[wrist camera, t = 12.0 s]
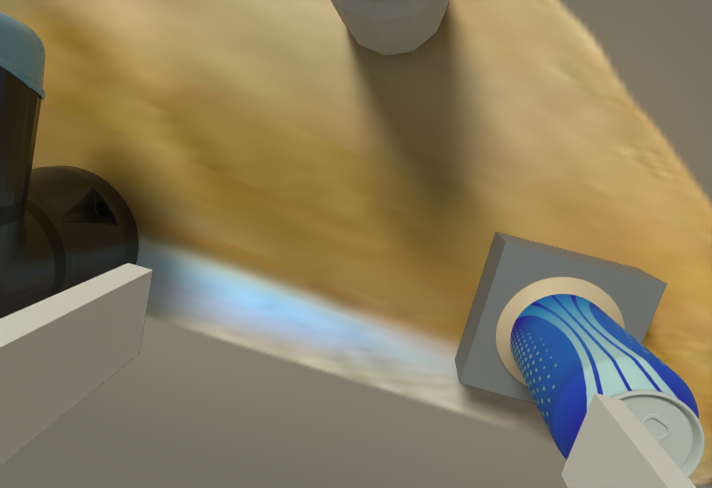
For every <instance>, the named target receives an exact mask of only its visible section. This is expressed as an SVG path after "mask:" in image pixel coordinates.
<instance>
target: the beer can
mask: <svg viewBox="0 0 712 488" xmlns="http://www.w3.org/2000/svg"><path fill="white" fill-rule="evenodd" d="M510 346H511V352H512V355H513V357H514V360H515V362H516V364H517V366H518V368H519V370H520V372H521V374H522V376H523V378H524V380H525V382H526V384H527V386H528V388H529V390H530V392H531V394H532V396H533V398H534V400H535V402H536V404H537V406H538V408H539V411H540V413H541V415H542V417H543V419H544V421H545V423H546V425H547V427H548V429H549V431H550V433H551V435H552V437H553V439H554V441H555V443H556V445H557V447H558V449H559V450H560V452H561V453H562V454H563V456H564V457H565V458H566V459H568V456H569V454H570V452H571V449H572V447H573V444H574V442H575V440H576V437H577V435H578V432H579V430H580V428H581V425H582V423H583V420H584V418H585V416H586V413H587V411H588V408H589V406H590V403H591V401H592V399H593V396H594V394H595V393H597V394H601V395H604V396H608V397H612V398H615V399H619V400H622V401H623V402H624V404H625V405H626V406H627V407H628V408H629V409H630V411H631V412H632V413H633V414H634V415H635V416H636V418H637V419H638V420H639V421H640V422H641V423H642V425H643V426H644V427H645V428H646V429H647V430H648V432H649V433H650V434H651V435H652V436H653V438H654V439H655V440H656V441H657V442H658V443H659V445H660V446H661V447H662V448H663V449H664V450H665V452H666V453H667V454H668V455H669V456H670V457H671V459H672V460H673V461H674V462H675V463H676V464H677V466H678V467H679V468H680V469H681V470H682V472H683V473H684V474H685V475H686V476H687V477H688V478H689V477H690V476H691V475H692V473H693V472H694V471H695V470H696V468H697V467H698V465H699V463H700V461H701V459H702V456H703V452H704V446H705V438H704V432H703V428H702V425H701V423H700V421H699V414H698V408H697V404H696V401H695V399H694V396H693V394H692V392H691V391H690V389H689V387H688V386H687V385H686V383H685V382H684V381H683V380H682V379H681V378H680V377H679V376H678V375H677V374H676V373H675V372H674V371H673V370H671V369H670V368H669V367H668V366H667V365H665V364H664V363H663V362H662V361H661V360H660V359H658V358H657V357H656V356H655V355H654V354H653V353H651V352H650V351H649V350H648V349H647V348H646V347H644V346H643V345H642V344H641V343H640V342H639V341H637V340H636V339H635V338H634V337H633V336H632V335H630V334H629V333H628V332H627V331H626V330H625V329H623V328H622V327H621V326H620V325H619V324H618V323H616V322H615V321H614V320H613V319H612V318H611V317H609V316H608V315H607V314H606V313H605V312H604V311H602V310H601V309H600V308H599V307H598V306H596V305H595V304H594V303H592V302H591V301H589V300H587V299H585V298H583V297H580V296H576V295H572V294H554V295H549V296H545V297H542V298H540V299H538V300H536V301H534V302H532V303H531V304H530V305H528V306H527V307H526V308H525V309H524V310H523V311H522V312H521V313H520V314H519V316H518V317H517V319H516V320H515V322H514V325H513V327H512V331H511V336H510Z"/></svg>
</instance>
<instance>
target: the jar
mask: <svg viewBox="0 0 712 488" xmlns="http://www.w3.org/2000/svg"><path fill="white" fill-rule="evenodd" d="M331 1H332V3H333V5H334V6H335V8H336V10H337V12H338V14H339V16H340V18H341V19H342V21H343V23H344V24H345V25H346V27H347V28H348V30H349V31H350V32H351V34H352V35H353V36H354V38H355V39H356V41H357V42H358V43H359V45H361V46H363V47H366V48H368V49H370V50H373V51H375V52H377V53H380V54H382V55H385V56H387V55H394V54H400V53H406V52H412V51H414V50H416V49H417V48H418V47H419V46H420V45H422V44H423V43H424V42H425V41H427V40H428V39H429V38H430V37H431V36H433V35H434V34H435V33H436V32H437V30H438V27H439V25H440V23H441V20H442V18H443V16H444V13H445V11H446V8H447V6H448V4H449V0H331Z"/></svg>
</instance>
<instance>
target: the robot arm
mask: <svg viewBox="0 0 712 488" xmlns="http://www.w3.org/2000/svg"><path fill="white" fill-rule="evenodd" d="M44 64H45V50H44V46H43V44H42V42H41V40H40V38H39V37H38V36H37V34H36V33H35V32H34V31H33V30H32V29H30V28H29V27H28V26H26V25H25V24H23V23H22V22H20V21H18V20H16V19H14V18H12V17H11V16H9V15H7V14H5V13H2V12H0V465H1V464H3V463H4V462H5V461H6V460H8V459H9V458H10V457H11V456H13V455H14V454H15V453H16V452H18V451H19V450H20V449H21V448H23V447H24V446H25V445H26V444H27V443H29V442H30V441H31V440H32V439H34V438H35V437H36V436H37V435H38V434H40V433H41V432H42V431H44V430H45V429H46V428H47V427H48V426H50V425H51V424H52V423H54V422H55V421H56V420H57V419H59V418H60V417H61V416H62V415H64V414H65V413H66V412H67V411H69V410H70V409H71V408H72V407H74V406H75V405H76V404H77V403H79V402H80V401H81V400H82V399H84V398H85V397H86V396H87V395H89V394H90V393H91V392H92V391H94V390H95V389H96V388H97V387H98V386H100V385H101V384H102V383H104V382H105V381H106V380H107V379H109V378H110V377H111V376H112V375H114V374H115V373H116V372H117V371H118V370H120V369H121V368H122V367H124V366H125V365H126V364H127V363H129V362H130V361H131V360H132V359H134V358H135V357H136V356H137V355H139V352H140V347H141V340H142V334H143V327H144V322H145V316H146V309H147V303H148V297H149V291H150V284H151V278H152V272H153V270H151V269H148V268H144V267H141V266H137V265H135V263H136V260H137V254H138V236H137V230H136V226H135V222H134V219H133V217H132V214H131V212H130V210H129V208H128V206H127V205H126V203H125V202H124V200H123V199H122V197H121V196H120V195H119V194H118V192H117V191H116V190H115V189H114V188H113V187H112V186H111V185H110V184H108V183H107V182H106V181H105V180H103V179H102V178H100V177H99V176H97V175H95V174H93V173H91V172H89V171H87V170H84V169H81V168H77V167H71V166H51V167H40V168H35V169H32V163H33V155H34V148H35V141H36V134H37V127H38V120H39V113H40V106H41V100H44V99H45V92H44V90H43V89H42V87H43V76H44ZM561 475H562V477H563V479H564V481H565V483H566V485H567V488H696V487H695V486H694V484H693V483H692V482H691V481H690V480H689V479H688V477H687V476H686V475H685V474H684V473H683V472H682V470H681V469H680V468H679V467H678V466H677V464H676V463H675V462H674V461H673V460H672V459H671V457H670V456H669V455H668V454H667V453H666V452H665V450H664V449H663V448H662V447H661V446H660V445H659V443H658V442H657V441H656V440H655V439H654V438H653V436H652V435H651V434H650V433H649V432H648V430H647V429H646V428H645V427H644V426H643V425H642V423H641V422H640V421H639V420H638V419H637V418H636V416H635V415H634V414H633V413H632V412H631V411H630V409H629V408H628V407H627V406H626V405H625V404H624V402H623V401H622V400H619V399H615V398H612V397H608V396H604V395H601V394H597V393H595V394H594V396H593V399H592V401H591V403H590V406H589V408H588V411H587V413H586V416H585V418H584V420H583V423H582V425H581V428H580V430H579V432H578V435H577V437H576V440H575V442H574V444H573V447H572V449H571V452H570V454H569V456H568V459H567V461H566V464H565V466H564V469H563V471H562V473H561Z"/></svg>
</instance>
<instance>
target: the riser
mask: <svg viewBox="0 0 712 488" xmlns="http://www.w3.org/2000/svg"><path fill="white" fill-rule="evenodd" d="M666 285H667V284H666V283H664V282H663V281H661V280H659V279H657V278H655V277H653V276H651V275H650V274H648V273H646V272H644V271H642V270H640V269H638V268H634V267H630V266H626V265H622V264H618V263H615V262H611V261H607V260H603V259H599V258H595V257H591V256H587V255H584V254H580V253H576V252H572V251H568V250H564V249H560V248H557V247H553V246H549V245H545V244H541V243H537V242H533V241H529V240H526V239H522V238H518V237H514V236H510V235H506V234H502V233H499V232H495V236H494V239H493V242H492V245H491V248H490V251H489V254H488V258H487V261H486V264H485V267H484V270H483V273H482V276H481V279H480V283H479V286H478V289H477V292H476V295H475V298H474V301H473V305H472V308H471V311H470V314H469V317H468V320H467V323H466V326H465V330H464V333H463V336H462V339H461V342H460V345H459V348H458V351H457V355H456V358H455V362H456V367H457V372H458V376H459V381H460V383H462V384H465V385H469V386H472V387H476V388H480V389H483V390H487V391H490V392H494V393H498V394H501V395H505V396H508V397H512V398H515V399H519V400H523V401H526V402H530V403H533V404H536V402H535V400H534V398H533V396H532V394H531V392H530V390H529V388H528V386H527V384H526V382H525V380H524V378H523V376H522V374H521V372H520V370H519V368H518V366H517V364H516V362H515V360H514V357H513V355H512V352H511V346H510V336H511V331H512V327H513V325H514V322H515V320H516V319H517V317H518V316H519V314H520V313H521V312H522V311H523V310H524V309H525V308H526V307H527V306H528V305H530V304H531V303H532V302H534V301H536V300H538V299H540V298H542V297H545V296H549V295H554V294H572V295H576V296H580V297H583V298H585V299H587V300H589V301H591V302H592V303H594V304H595V305H596V306H598V307H599V308H600V309H601V310H602V311H604V312H605V313H606V314H607V315H608V316H609V317H611V318H612V319H613V320H614V321H615V322H616V323H618V324H619V325H620V326H621V327H622V328H623V329H625V330H626V331H627V332H628V333H629V334H630V335H632V336H633V337H634V338H635V339H636V340H637V341H639V342H640V343H641V344H642V342H643V340H644V337H645V335H646V333H647V330H648V328H649V325H650V323H651V321H652V318H653V316H654V313H655V311H656V309H657V306H658V304H659V301H660V299H661V297H662V294H663V292H664V289H665V287H666Z"/></svg>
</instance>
